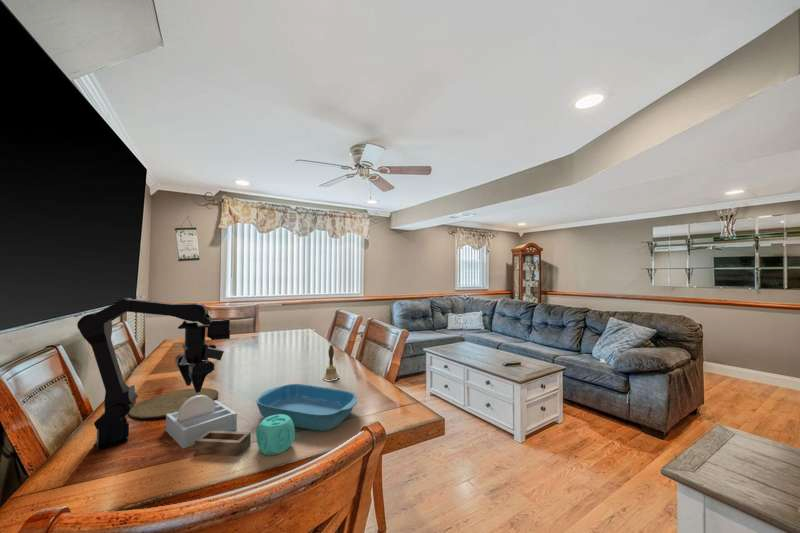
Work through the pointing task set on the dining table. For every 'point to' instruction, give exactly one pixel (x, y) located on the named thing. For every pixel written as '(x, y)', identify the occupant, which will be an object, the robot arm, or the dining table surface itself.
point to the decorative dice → (275, 434)
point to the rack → (200, 425)
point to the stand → (223, 442)
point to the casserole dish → (308, 405)
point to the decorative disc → (167, 403)
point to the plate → (196, 408)
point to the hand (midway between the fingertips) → (193, 388)
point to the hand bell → (331, 366)
